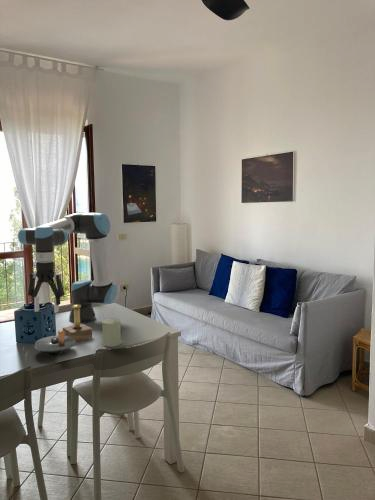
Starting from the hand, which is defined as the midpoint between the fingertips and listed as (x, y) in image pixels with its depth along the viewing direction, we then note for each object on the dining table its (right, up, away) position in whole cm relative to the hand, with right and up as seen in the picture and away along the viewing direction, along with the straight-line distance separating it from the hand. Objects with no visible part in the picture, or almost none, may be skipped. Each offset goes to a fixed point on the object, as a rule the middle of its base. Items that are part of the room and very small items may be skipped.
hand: (46, 311), depth 182 cm
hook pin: (+6, -18, +30) cm, 35 cm away
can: (+25, -19, +21) cm, 38 cm away
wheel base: (+1, -20, +10) cm, 23 cm away
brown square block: (+6, -18, +30) cm, 35 cm away
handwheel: (+1, -17, +9) cm, 19 cm away
